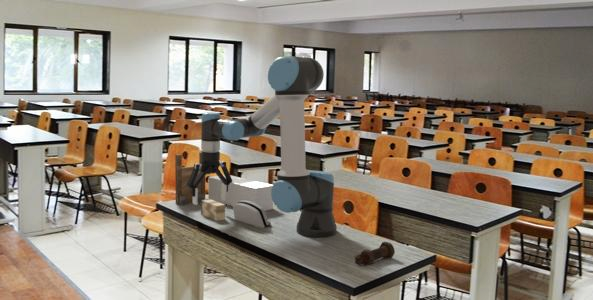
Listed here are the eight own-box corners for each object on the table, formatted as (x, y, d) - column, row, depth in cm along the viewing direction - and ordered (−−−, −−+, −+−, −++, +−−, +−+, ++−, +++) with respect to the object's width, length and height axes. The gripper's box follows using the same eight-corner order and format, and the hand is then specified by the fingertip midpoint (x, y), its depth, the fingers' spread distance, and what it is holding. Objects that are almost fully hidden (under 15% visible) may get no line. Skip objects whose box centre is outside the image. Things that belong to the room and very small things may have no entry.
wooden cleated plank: (207, 200, 248) (207, 153, 245) (179, 205, 240) (179, 155, 236) (203, 199, 251) (203, 152, 248) (175, 203, 242) (175, 154, 239)
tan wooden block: (224, 219, 219) (225, 204, 218) (216, 220, 216) (216, 206, 216) (209, 212, 228) (209, 198, 227) (201, 214, 226) (201, 200, 225)
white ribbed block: (208, 199, 252) (208, 176, 250) (226, 196, 260) (226, 174, 258) (254, 213, 230) (255, 188, 229) (273, 209, 238) (273, 185, 236)
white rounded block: (272, 225, 211) (266, 203, 208) (263, 232, 209) (257, 209, 205) (244, 217, 223) (238, 195, 219) (235, 222, 220) (229, 201, 216)
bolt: (355, 271, 171) (386, 260, 180) (366, 268, 167) (397, 256, 177) (349, 253, 172) (380, 243, 182) (359, 249, 168) (390, 239, 178)
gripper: (231, 147, 231) (230, 196, 234) (178, 151, 215) (177, 203, 218) (241, 150, 225) (240, 199, 228) (187, 154, 209) (186, 208, 212)
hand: (209, 201), depth 223 cm, fingers open, 13 cm apart
